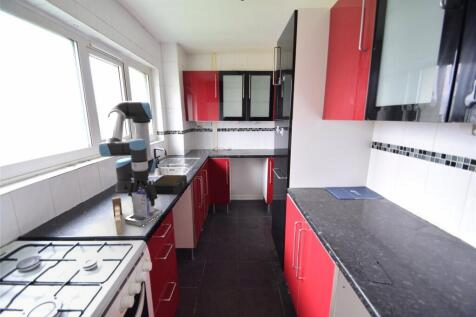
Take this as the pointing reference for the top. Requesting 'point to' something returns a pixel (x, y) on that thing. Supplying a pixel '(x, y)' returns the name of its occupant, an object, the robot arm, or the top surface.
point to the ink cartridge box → (141, 203)
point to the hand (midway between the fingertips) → (143, 210)
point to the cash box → (170, 184)
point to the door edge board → (117, 213)
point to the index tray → (142, 218)
